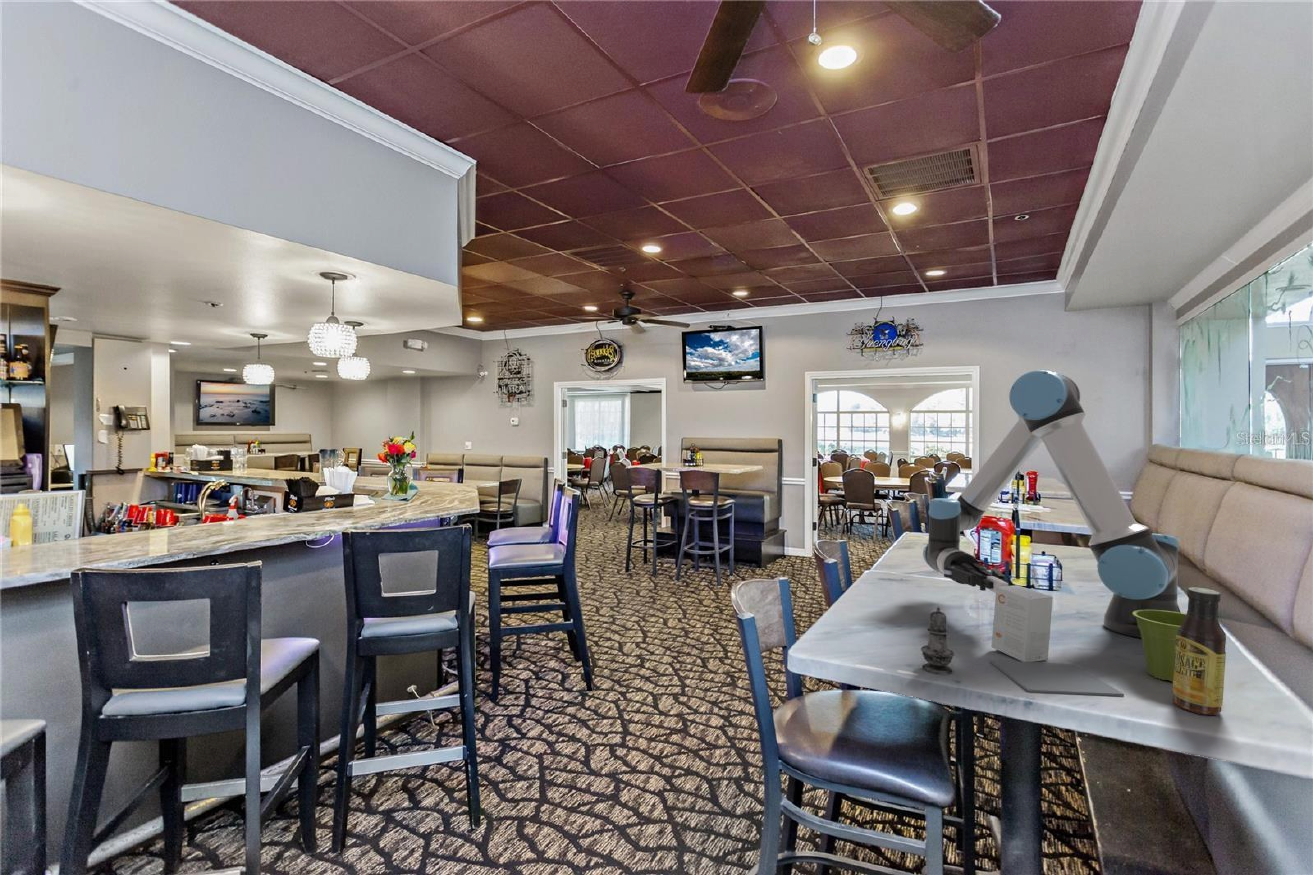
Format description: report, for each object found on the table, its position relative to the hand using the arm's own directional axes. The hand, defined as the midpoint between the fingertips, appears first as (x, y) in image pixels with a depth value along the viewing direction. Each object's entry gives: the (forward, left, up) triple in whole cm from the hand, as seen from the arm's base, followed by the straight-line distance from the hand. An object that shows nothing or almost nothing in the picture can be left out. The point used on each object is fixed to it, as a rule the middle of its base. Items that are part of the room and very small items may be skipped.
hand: (1004, 589), depth 129 cm
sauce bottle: (-18, +27, -13) cm, 35 cm away
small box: (-1, +4, -12) cm, 13 cm away
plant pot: (-24, +13, -13) cm, 30 cm away
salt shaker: (+19, +14, -13) cm, 26 cm away
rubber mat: (-1, +16, -13) cm, 20 cm away
